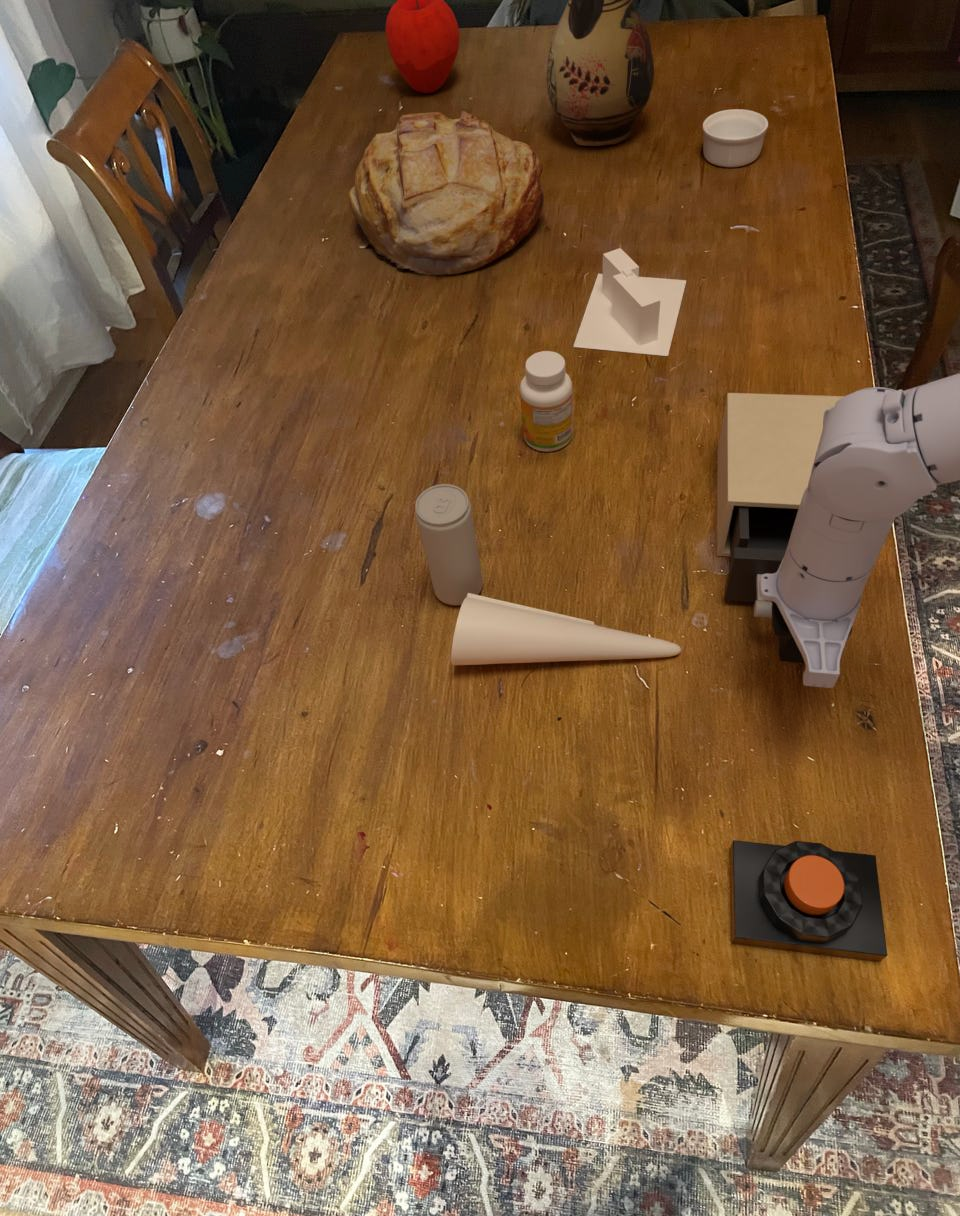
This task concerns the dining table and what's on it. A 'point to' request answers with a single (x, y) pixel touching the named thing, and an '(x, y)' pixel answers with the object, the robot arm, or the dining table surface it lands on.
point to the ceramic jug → (600, 70)
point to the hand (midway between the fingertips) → (792, 655)
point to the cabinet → (766, 453)
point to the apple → (422, 42)
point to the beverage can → (449, 542)
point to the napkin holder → (630, 309)
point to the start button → (814, 885)
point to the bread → (445, 193)
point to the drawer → (756, 551)
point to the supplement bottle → (546, 402)
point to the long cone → (541, 636)
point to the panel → (781, 925)
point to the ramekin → (733, 137)
